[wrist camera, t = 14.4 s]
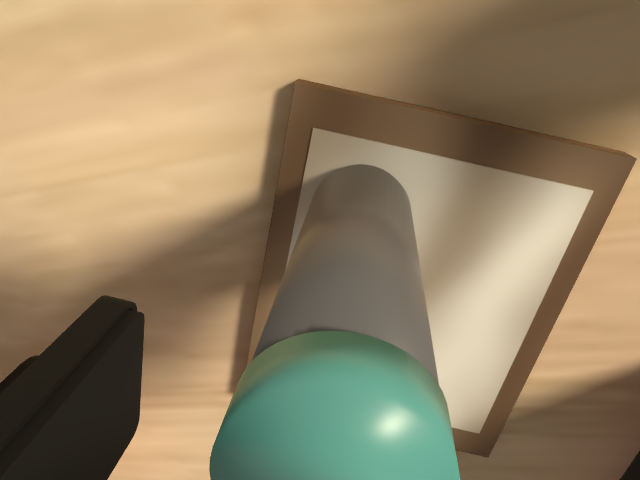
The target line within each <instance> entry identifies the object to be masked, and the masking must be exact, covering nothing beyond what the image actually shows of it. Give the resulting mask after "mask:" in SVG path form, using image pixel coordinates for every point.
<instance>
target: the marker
mask: <svg viewBox="0 0 640 480" xmlns="http://www.w3.org/2000/svg"><path fill="white" fill-rule="evenodd" d="M210 477H211V480H460V474H459V468H458V462H457V456H456V451H455V445H454V439H453V433H452V428H451V422H450V416H449V411H448V406H447V402H446V399H445V396H444V394H443V391H442V389H441V388H440V386H439V382H438V375H437V369H436V363H435V356H434V350H433V344H432V338H431V331H430V325H429V319H428V312H427V306H426V300H425V293H424V287H423V281H422V275H421V268H420V262H419V256H418V249H417V243H416V237H415V231H414V224H413V218H412V212H411V206H410V201H409V198H408V195H407V193H406V191H405V189H404V188H403V187H402V185H401V184H400V183H399V182H398V181H397V179H395V178H394V177H393V176H392V175H391V174H390V173H388V172H386V171H385V170H383V169H381V168H378V167H375V166H372V165H365V164H357V165H350V166H346V167H344V168H341V169H339V170H337V171H335V172H334V173H332V174H331V175H329V176H328V177H327V178H326V179H325V180H323V181H322V183H321V184H320V185H319V186H318V188H317V190H316V191H315V194H314V196H313V198H312V201H311V204H310V206H309V209H308V212H307V214H306V217H305V220H304V222H303V225H302V228H301V230H300V233H299V236H298V238H297V241H296V244H295V246H294V249H293V252H292V254H291V257H290V260H289V262H288V265H287V268H286V270H285V273H284V276H283V278H282V281H281V284H280V286H279V289H278V292H277V294H276V297H275V300H274V302H273V305H272V308H271V310H270V313H269V316H268V318H267V321H266V324H265V326H264V329H263V332H262V334H261V337H260V340H259V342H258V345H257V348H256V350H255V353H254V356H253V358H252V361H251V363H250V364H249V365H248V366H247V368H246V369H245V371H244V372H243V374H242V375H241V377H240V380H239V382H238V384H237V386H236V389H235V391H234V394H233V397H232V399H231V402H230V404H229V407H228V409H227V412H226V415H225V417H224V420H223V422H222V425H221V427H220V430H219V433H218V435H217V438H216V440H215V443H214V445H213V449H212V453H211V457H210Z"/></svg>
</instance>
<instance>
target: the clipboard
mask: <svg viewBox="0 0 640 480" xmlns="http://www.w3.org/2000/svg"><path fill="white" fill-rule="evenodd" d="M635 161H636V158H634V157H632V156H630V155H629V154H627V153H625V152H622V151H617V150H613V149H608V148H604V147H599V146H595V145H590V144H586V143H581V142H577V141H573V140H568V139H564V138H559V137H555V136H550V135H546V134H541V133H537V132H532V131H528V130H524V129H519V128H515V127H510V126H506V125H501V124H497V123H492V122H488V121H484V120H479V119H475V118H470V117H466V116H461V115H457V114H452V113H448V112H443V111H439V110H435V109H430V108H426V107H421V106H417V105H412V104H408V103H403V102H399V101H394V100H390V99H386V98H381V97H377V96H372V95H368V94H363V93H359V92H354V91H350V90H345V89H341V88H337V87H332V86H328V85H323V84H319V83H314V82H310V81H305V80H301V79H298V80H297V81H296V82H295V85H294V91H293V96H292V102H291V108H290V114H289V120H288V126H287V131H286V137H285V143H284V149H283V155H282V161H281V166H280V172H279V178H278V184H277V190H276V196H275V201H274V207H273V213H272V219H271V225H270V231H269V236H268V242H267V248H266V254H265V260H264V266H263V271H262V277H261V283H260V289H259V295H258V301H257V306H256V312H255V318H254V324H253V330H252V336H251V341H250V347H249V353H248V359H247V365H246V368H247V366H248V365H249V364H250V363H251V361H252V358H253V356H254V353H255V350H256V348H257V345H258V342H259V340H260V337H261V334H262V332H263V329H264V326H265V324H266V321H267V318H268V316H269V313H270V310H271V308H272V305H273V302H274V300H275V297H276V294H277V292H278V289H279V286H280V284H281V281H282V278H283V276H284V273H285V270H286V268H287V265H288V262H289V260H290V257H291V254H292V252H293V249H294V246H295V244H296V241H297V238H298V236H299V233H300V230H301V228H302V225H303V222H304V220H305V217H306V214H307V212H308V209H309V206H310V204H311V201H312V198H313V196H314V194H315V191H316V190H317V188H318V186H319V185H320V184H321V183H322V181H323V180H325V179H326V178H327V177H328V176H329V175H331V174H332V173H334V172H335V171H337V170H339V169H341V168H344V167H346V166H350V165H357V164H365V165H372V166H375V167H378V168H381V169H383V170H385V171H386V172H388V173H390V174H391V175H392V176H393V177H394V178H395V179H397V181H398V182H399V183H400V184H401V185H402V187H403V188H404V189H405V191H406V193H407V195H408V198H409V201H410V206H411V212H412V218H413V224H414V231H415V237H416V243H417V249H418V256H419V262H420V268H421V275H422V281H423V287H424V293H425V300H426V306H427V312H428V319H429V325H430V331H431V338H432V344H433V350H434V356H435V363H436V369H437V375H438V382H439V386H440V388H441V389H442V391H443V394H444V396H445V399H446V402H447V406H448V411H449V416H450V422H451V428H452V433H453V439H454V445H455V450H458V451H462V452H467V453H471V454H475V455H480V456H484V457H489V455H490V453H491V451H492V449H493V447H494V445H495V443H496V441H497V439H498V437H499V435H500V433H501V431H502V429H503V427H504V425H505V423H506V421H507V419H508V417H509V414H510V412H511V410H512V408H513V406H514V404H515V402H516V400H517V398H518V396H519V394H520V392H521V390H522V388H523V386H524V384H525V382H526V380H527V378H528V376H529V374H530V372H531V370H532V368H533V366H534V364H535V362H536V360H537V358H538V356H539V354H540V352H541V350H542V348H543V346H544V344H545V342H546V340H547V338H548V336H549V334H550V332H551V330H552V328H553V326H554V324H555V322H556V320H557V318H558V316H559V314H560V312H561V310H562V308H563V306H564V304H565V302H566V300H567V298H568V296H569V294H570V292H571V290H572V288H573V286H574V284H575V282H576V280H577V278H578V276H579V274H580V272H581V270H582V268H583V266H584V264H585V262H586V260H587V258H588V256H589V254H590V252H591V250H592V248H593V246H594V244H595V242H596V240H597V238H598V236H599V234H600V232H601V230H602V228H603V226H604V224H605V222H606V220H607V218H608V216H609V214H610V212H611V210H612V207H613V205H614V203H615V201H616V199H617V197H618V195H619V193H620V191H621V189H622V187H623V185H624V183H625V181H626V179H627V177H628V175H629V173H630V171H631V169H632V167H633V165H634V163H635Z"/></svg>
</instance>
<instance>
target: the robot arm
mask: <svg viewBox="0 0 640 480" xmlns="http://www.w3.org/2000/svg"><path fill="white" fill-rule="evenodd" d="M143 339H144V314H143V313H141V312H137V307H136V304H135V303H134V302H130V301H126V300H122V299H118V298H114V297H110V296H106V295H105V296H101V297H100V298H99V299H97V300H96V301H95V302H94V303H93V304H92V305H91V306H90V307H89V308H88V309H87V310H86V311H85V312H84V313H83V314H82V315H81V316H80V317H79V318H78V319H77V320H76V321H75V322H74V323H73V324H72V325H71V326H70V327H68V328H67V329H66V330H65V331H64V332H63V333H62V334H61V335H60V336H59V337H58V338H57V339H56V340H55V341H54V342H53V343H52V344H51V345H50V346H49V347H48V348H47V349H46V350H45V351H44V352H43V353H42V354H41V355H40V356H37V355H36V356H33V357H30V358H28V359H27V360H25V361H24V362H23V363H21V364H20V365H19V366H18V367H17V368H16V369H15V370H14V371H13V372H12V373H11V374H10V375H9V376H8V377H6V378H5V379H4V380H3V381H2V382H1V383H0V480H107V479H108V478H109V476H110V474H111V473H112V471H113V469H114V468H115V466H116V464H117V463H118V461H119V460H120V458H121V456H122V455H123V453H124V451H125V450H126V448H127V446H128V445H129V443H130V441H131V440H132V438H133V436H134V434H135V432H136V429H137V426H138V422H139V416H140V397H141V377H142V358H143ZM620 480H640V451H639V453H638V454H637V456H636V457H635V459H634V460H633V462H632V463H631V464H630V466H629V467H628V469H627V470H626V472H625V473H624V475H623V476H622V478H621V479H620Z"/></svg>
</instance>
